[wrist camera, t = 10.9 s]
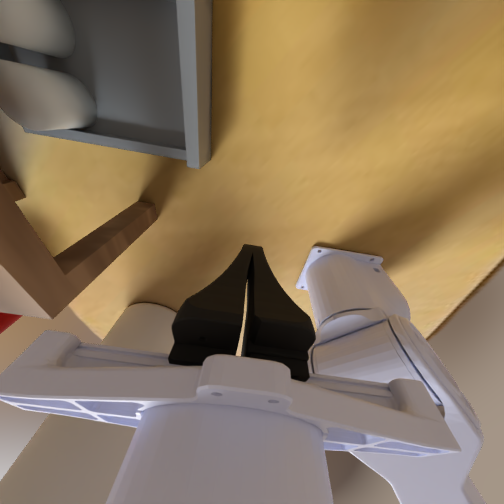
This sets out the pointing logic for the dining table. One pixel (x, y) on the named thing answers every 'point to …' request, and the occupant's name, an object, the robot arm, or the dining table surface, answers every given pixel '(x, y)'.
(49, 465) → the cylinder vase
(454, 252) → the dining table surface
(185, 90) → the tray
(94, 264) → the wooden side table
